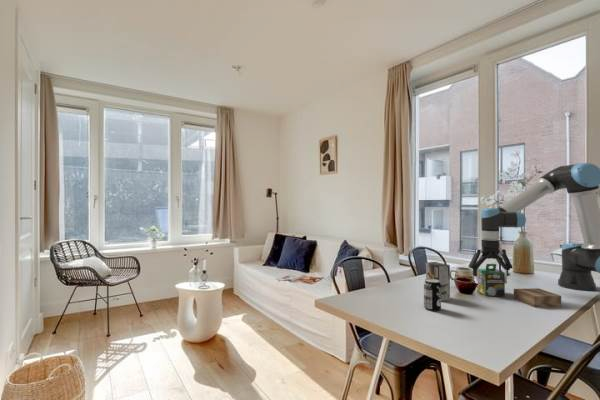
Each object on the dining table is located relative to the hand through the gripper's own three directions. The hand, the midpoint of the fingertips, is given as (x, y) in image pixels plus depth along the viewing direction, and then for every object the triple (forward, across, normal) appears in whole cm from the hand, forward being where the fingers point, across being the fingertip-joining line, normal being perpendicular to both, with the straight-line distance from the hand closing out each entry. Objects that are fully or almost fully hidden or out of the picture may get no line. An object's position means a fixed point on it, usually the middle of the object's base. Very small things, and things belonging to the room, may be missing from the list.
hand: (490, 282), depth 154 cm
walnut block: (+6, -12, +14) cm, 19 cm away
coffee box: (+6, +29, +7) cm, 30 cm away
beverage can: (+6, +38, +22) cm, 44 cm away
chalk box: (+6, 0, 0) cm, 6 cm away
